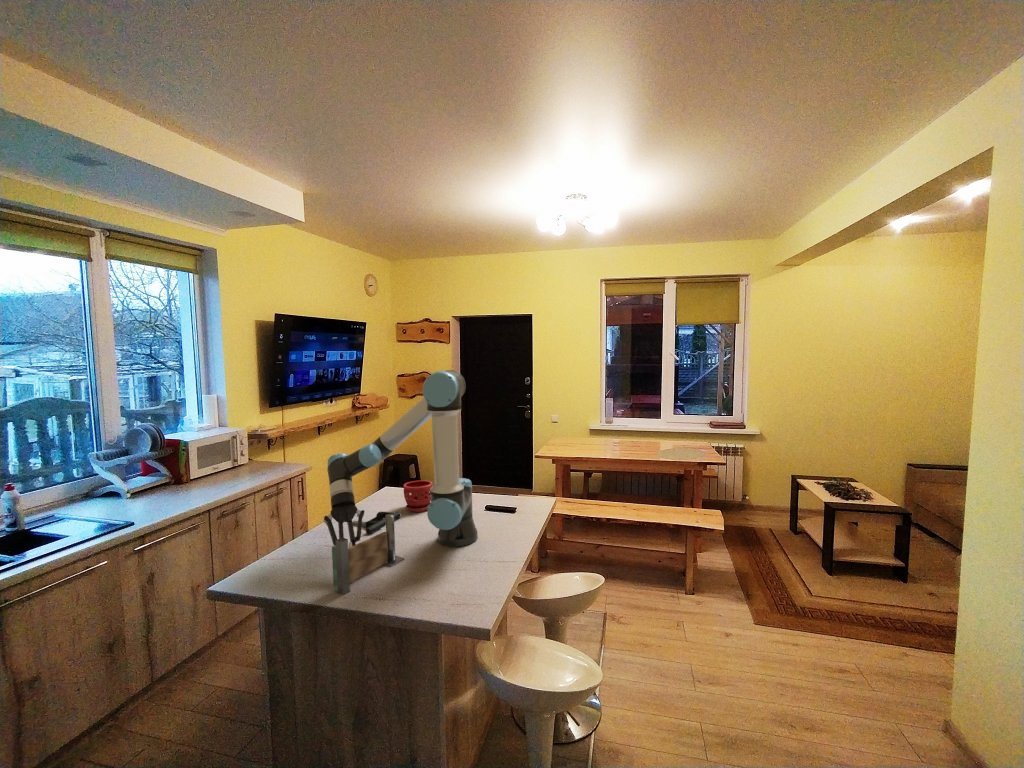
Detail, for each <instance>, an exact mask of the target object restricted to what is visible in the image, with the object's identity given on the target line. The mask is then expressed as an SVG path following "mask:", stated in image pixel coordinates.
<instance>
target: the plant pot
mask: <svg viewBox="0 0 1024 768" xmlns="http://www.w3.org/2000/svg"><path fill="white" fill-rule="evenodd" d="M433 485H434V484H433V482H432V481H430V480H422V479H421V480H414V481H412V480H411V481H408V482H405V483H404V484H403V496H404V500H405V503H406V506H405V508H406V510H408V511H409V512H412V513H420V512H425V511H428V507H429V505H430V503H431V494H430V488H431V487H432V486H433Z"/></svg>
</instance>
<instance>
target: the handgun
mask: <svg viewBox="0 0 1024 768" xmlns="http://www.w3.org/2000/svg"><path fill="white" fill-rule="evenodd" d="M376 513H377V514H376V516H375V517H373V518H372V519H369V520H368V521H363V520H362V526H363V527H362V528H365V533H366V535H373V534H374V533H375V532H378V531H379V529H381V530H383V529H385V528H386V518H385V516H386V515H388V514H394V522H395V521H396V520H398V519H400V518H401V513H400V512H399V511H395V512H394V511H393V512H391V511H390V512H389V511H379V512H376ZM352 523H353V526H354V525H358V520H352ZM384 527H385V528H384ZM382 528H383V529H382Z"/></svg>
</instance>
